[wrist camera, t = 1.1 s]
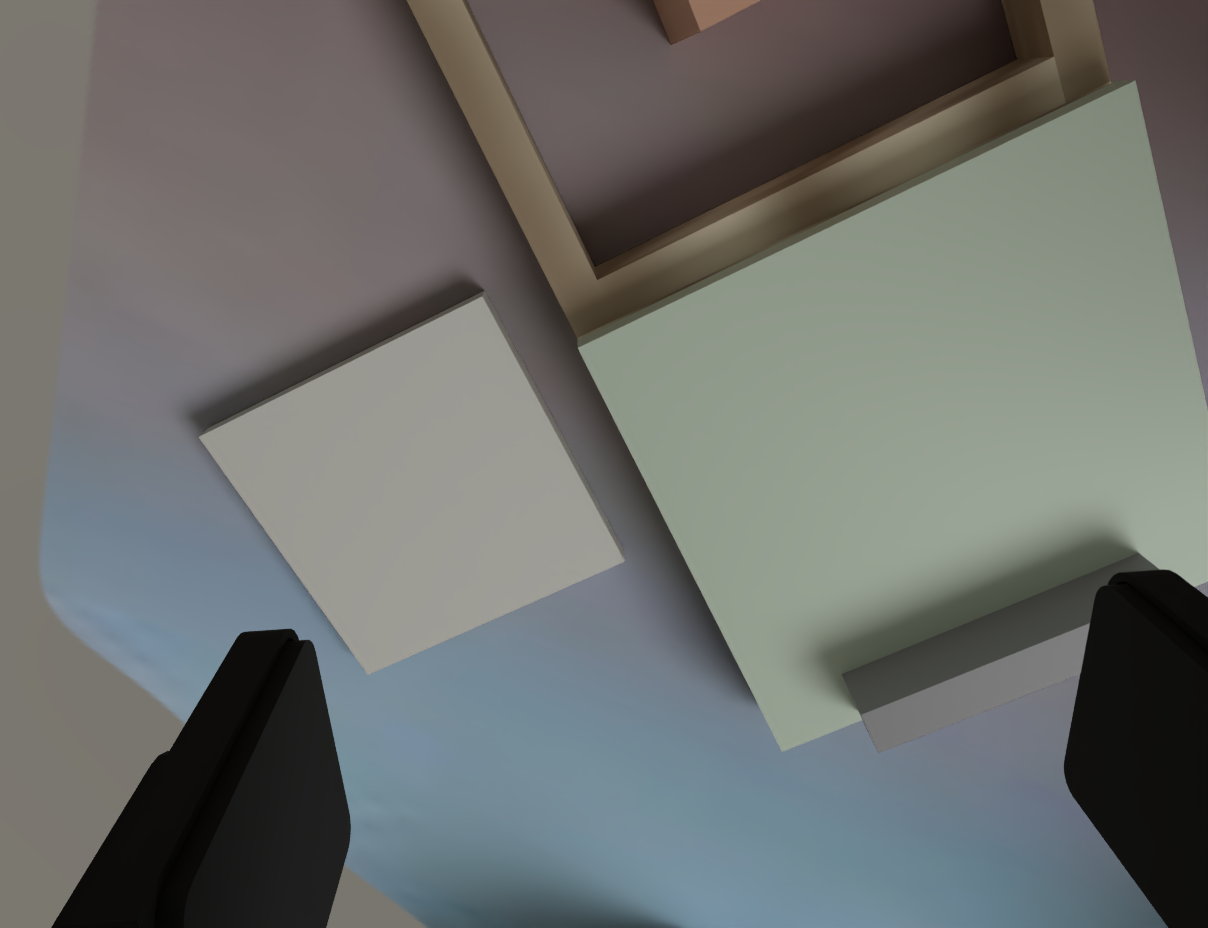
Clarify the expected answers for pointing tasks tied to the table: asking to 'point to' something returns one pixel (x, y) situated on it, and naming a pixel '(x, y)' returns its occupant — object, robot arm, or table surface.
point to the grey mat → (418, 486)
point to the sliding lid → (929, 429)
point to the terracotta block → (695, 15)
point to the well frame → (781, 206)
